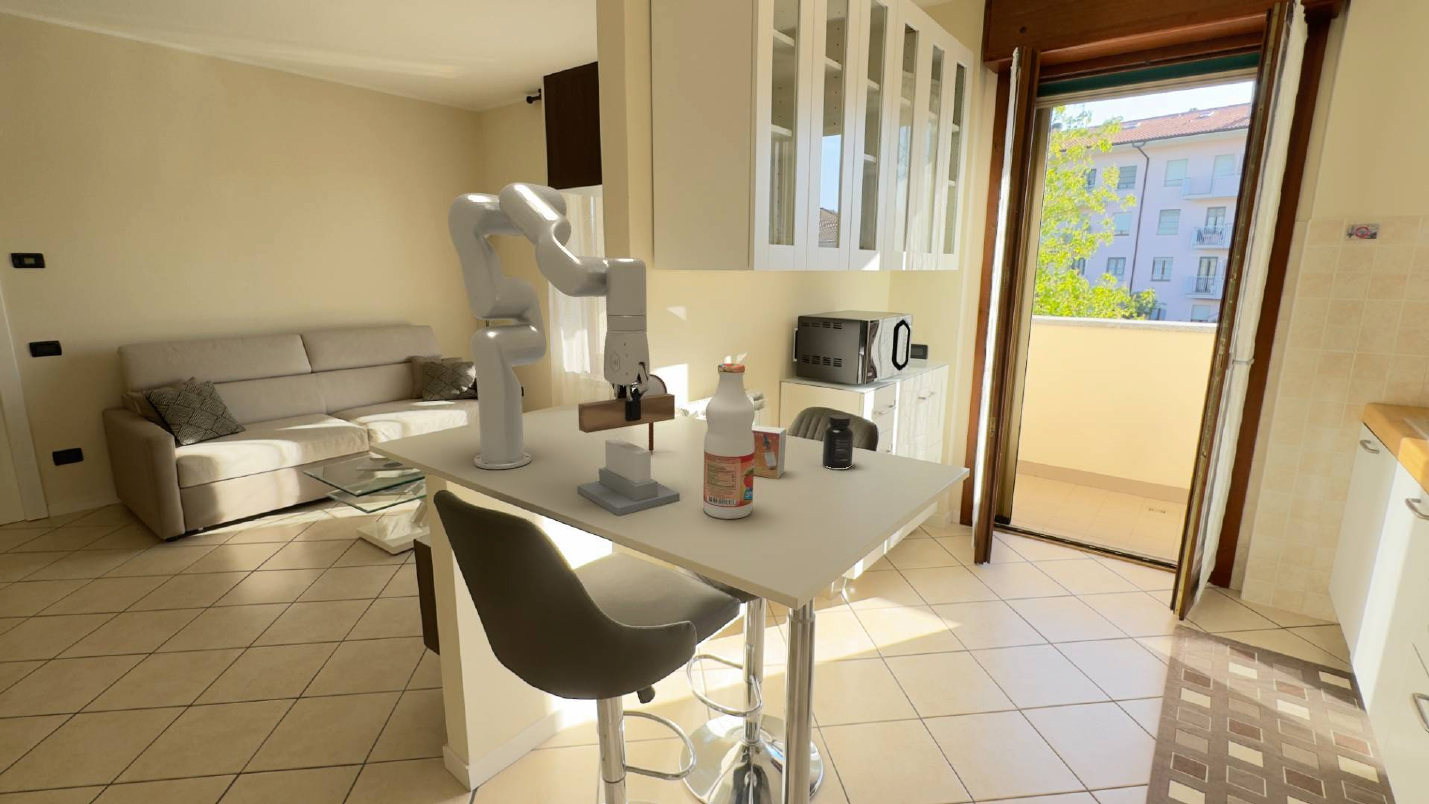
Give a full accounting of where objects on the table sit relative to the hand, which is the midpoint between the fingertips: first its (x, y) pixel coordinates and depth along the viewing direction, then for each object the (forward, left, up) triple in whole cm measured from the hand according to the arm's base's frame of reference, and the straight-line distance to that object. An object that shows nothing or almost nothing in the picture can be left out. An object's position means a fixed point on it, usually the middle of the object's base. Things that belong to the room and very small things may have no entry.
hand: (628, 418), depth 126 cm
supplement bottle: (+11, +51, -16) cm, 54 cm away
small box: (+5, +33, -16) cm, 37 cm away
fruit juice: (+18, +11, -16) cm, 26 cm away
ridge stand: (0, 0, -16) cm, 16 cm away
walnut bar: (0, 0, -1) cm, 1 cm away
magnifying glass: (-23, +21, -16) cm, 35 cm away
